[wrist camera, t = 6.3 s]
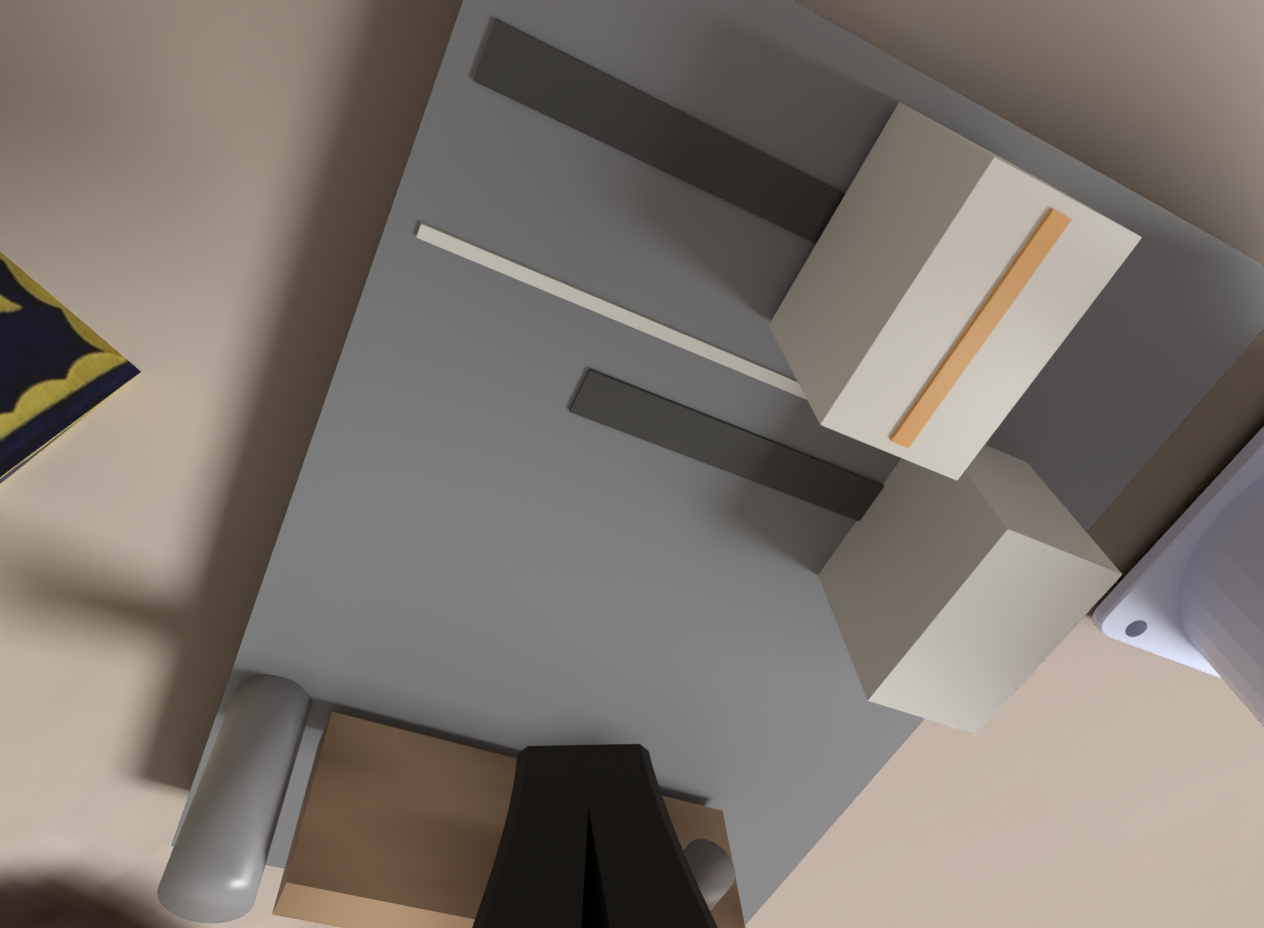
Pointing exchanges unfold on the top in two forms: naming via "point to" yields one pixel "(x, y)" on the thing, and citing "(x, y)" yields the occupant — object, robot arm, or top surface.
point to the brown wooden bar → (433, 833)
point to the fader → (940, 294)
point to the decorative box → (47, 369)
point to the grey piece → (673, 445)
